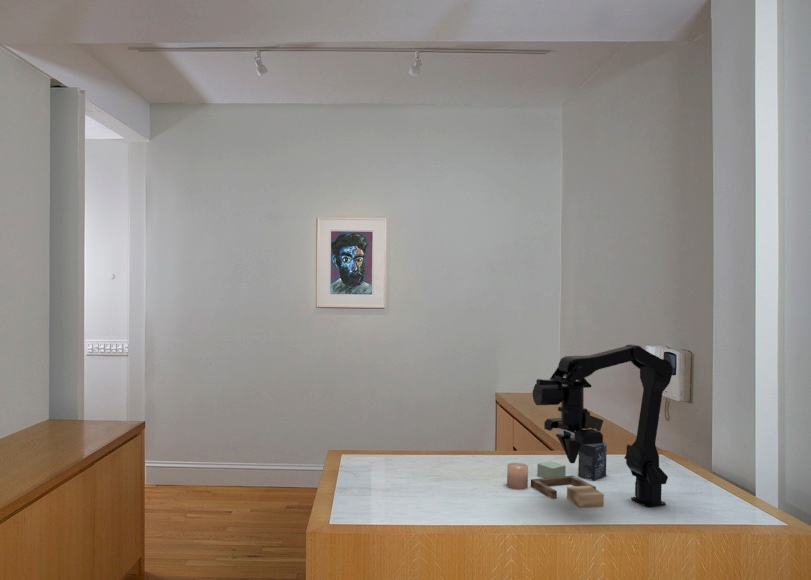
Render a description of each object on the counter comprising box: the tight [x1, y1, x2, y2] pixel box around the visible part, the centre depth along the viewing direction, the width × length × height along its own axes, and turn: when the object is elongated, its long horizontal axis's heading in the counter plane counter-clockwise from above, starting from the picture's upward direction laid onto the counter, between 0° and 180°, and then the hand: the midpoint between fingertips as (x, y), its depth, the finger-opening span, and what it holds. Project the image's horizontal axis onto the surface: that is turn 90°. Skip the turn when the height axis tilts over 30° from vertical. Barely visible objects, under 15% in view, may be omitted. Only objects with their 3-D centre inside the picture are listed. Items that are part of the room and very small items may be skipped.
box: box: [577, 441, 608, 482], centre depth 180 cm, size 8×6×11 cm
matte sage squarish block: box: [536, 460, 566, 478], centre depth 178 cm, size 6×6×4 cm
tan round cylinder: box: [506, 462, 529, 491], centre depth 168 cm, size 6×6×6 cm
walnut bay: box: [530, 475, 597, 500], centre depth 166 cm, size 11×14×2 cm
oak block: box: [566, 485, 605, 509], centre depth 156 cm, size 7×7×4 cm
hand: (572, 462), depth 152 cm, fingers closed
